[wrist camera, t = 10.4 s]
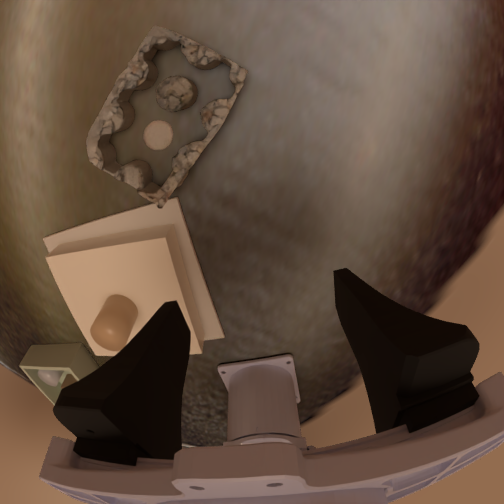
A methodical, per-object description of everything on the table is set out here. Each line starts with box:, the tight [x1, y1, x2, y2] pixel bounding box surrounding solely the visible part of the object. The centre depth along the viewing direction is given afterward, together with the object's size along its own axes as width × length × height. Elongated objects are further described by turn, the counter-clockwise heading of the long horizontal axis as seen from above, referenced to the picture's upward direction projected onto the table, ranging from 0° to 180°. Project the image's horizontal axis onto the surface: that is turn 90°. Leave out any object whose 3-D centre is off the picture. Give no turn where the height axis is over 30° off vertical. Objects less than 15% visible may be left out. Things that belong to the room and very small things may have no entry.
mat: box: [43, 196, 225, 340], centre depth 25 cm, size 14×14×1 cm
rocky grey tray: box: [86, 26, 248, 209], centre depth 17 cm, size 11×8×4 cm
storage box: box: [19, 343, 99, 406], centre depth 29 cm, size 10×10×4 cm
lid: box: [45, 224, 205, 356], centre depth 22 cm, size 11×11×6 cm
